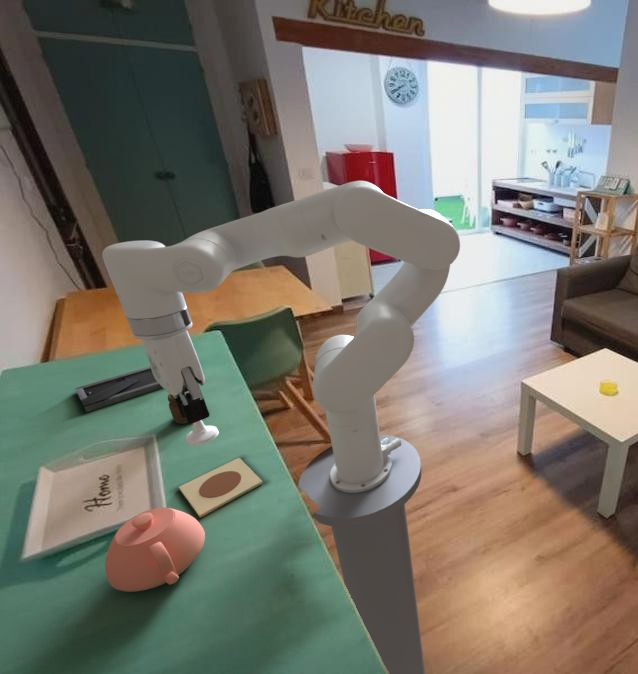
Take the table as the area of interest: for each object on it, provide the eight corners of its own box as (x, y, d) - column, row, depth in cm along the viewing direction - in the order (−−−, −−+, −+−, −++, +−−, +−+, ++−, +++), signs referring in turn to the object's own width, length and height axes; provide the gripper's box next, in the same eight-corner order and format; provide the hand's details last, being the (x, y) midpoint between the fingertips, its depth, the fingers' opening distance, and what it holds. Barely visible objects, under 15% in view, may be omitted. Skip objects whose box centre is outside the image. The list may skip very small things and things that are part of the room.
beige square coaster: (239, 459, 90) (238, 456, 90) (263, 483, 84) (262, 480, 84) (179, 489, 82) (178, 486, 82) (200, 517, 76) (199, 515, 76)
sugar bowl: (195, 520, 76) (177, 477, 71) (224, 566, 68) (206, 521, 63) (106, 567, 67) (79, 522, 63) (127, 626, 59) (99, 579, 55)
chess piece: (225, 432, 77) (209, 386, 72) (197, 449, 73) (179, 401, 68) (207, 425, 78) (191, 380, 74) (179, 440, 74) (161, 393, 70)
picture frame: (86, 412, 104) (173, 384, 117) (83, 405, 103) (171, 377, 116) (77, 393, 112) (160, 368, 124) (74, 386, 111) (157, 362, 123)
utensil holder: (209, 409, 106) (194, 368, 101) (193, 425, 100) (178, 382, 95) (184, 410, 106) (169, 369, 101) (168, 425, 100) (150, 382, 95)
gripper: (116, 315, 67) (155, 409, 75) (147, 343, 59) (187, 446, 67) (171, 303, 73) (202, 392, 81) (207, 327, 64) (238, 424, 72)
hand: (195, 416), depth 74 cm, fingers closed on chess piece
